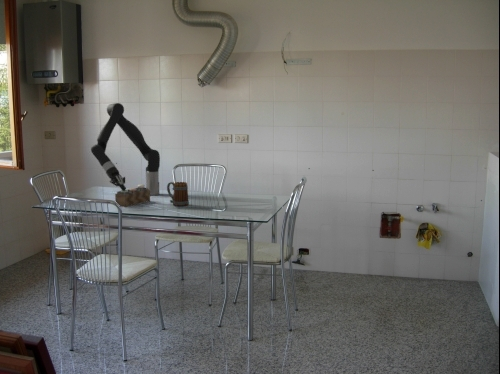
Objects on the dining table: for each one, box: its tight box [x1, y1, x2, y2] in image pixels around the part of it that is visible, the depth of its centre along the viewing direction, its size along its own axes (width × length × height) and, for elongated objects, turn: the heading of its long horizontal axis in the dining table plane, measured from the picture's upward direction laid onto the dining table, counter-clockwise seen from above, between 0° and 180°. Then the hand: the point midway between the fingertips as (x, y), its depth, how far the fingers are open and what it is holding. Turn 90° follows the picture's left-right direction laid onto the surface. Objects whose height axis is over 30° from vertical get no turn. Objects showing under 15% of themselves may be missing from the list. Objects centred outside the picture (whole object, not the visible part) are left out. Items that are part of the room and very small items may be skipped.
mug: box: [166, 181, 190, 208], centre depth 330 cm, size 16×11×15 cm
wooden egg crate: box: [114, 187, 151, 208], centre depth 333 cm, size 24×8×9 cm, turn 150°
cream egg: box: [137, 184, 146, 189], centre depth 339 cm, size 5×5×2 cm
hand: (124, 189), depth 325 cm, fingers closed
